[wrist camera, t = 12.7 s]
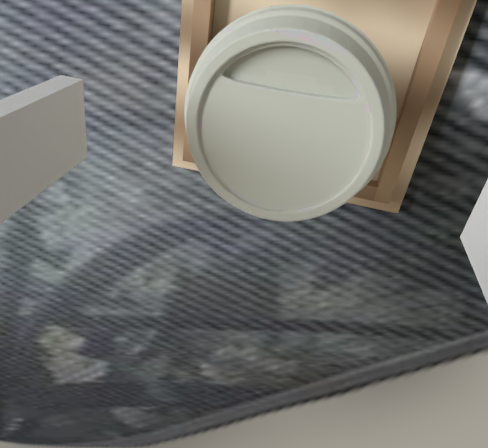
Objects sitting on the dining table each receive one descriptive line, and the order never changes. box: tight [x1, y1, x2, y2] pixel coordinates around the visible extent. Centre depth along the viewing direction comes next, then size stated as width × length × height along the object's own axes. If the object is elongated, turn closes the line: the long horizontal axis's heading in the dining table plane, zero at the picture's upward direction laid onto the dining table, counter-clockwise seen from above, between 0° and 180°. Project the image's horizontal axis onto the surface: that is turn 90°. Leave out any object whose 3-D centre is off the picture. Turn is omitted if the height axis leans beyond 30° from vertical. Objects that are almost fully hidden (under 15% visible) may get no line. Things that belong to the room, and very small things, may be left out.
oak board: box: [173, 0, 477, 213], centre depth 27 cm, size 16×16×2 cm
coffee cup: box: [184, 4, 397, 221], centre depth 22 cm, size 9×8×12 cm
